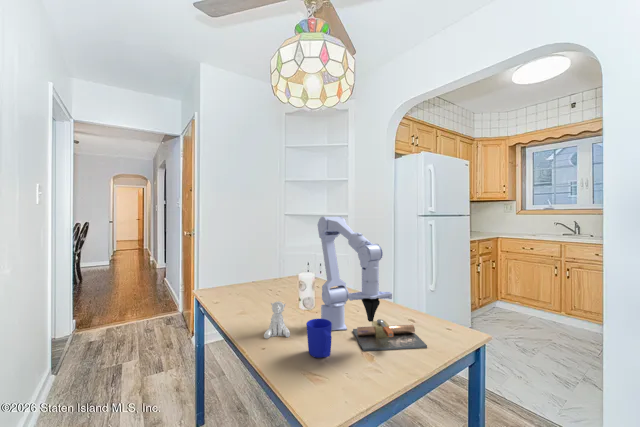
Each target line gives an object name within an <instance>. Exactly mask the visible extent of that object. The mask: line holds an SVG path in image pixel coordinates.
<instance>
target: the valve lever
mask: <svg viewBox="0 0 640 427" xmlns="http://www.w3.org/2000/svg"><path fill="white" fill-rule="evenodd" d="M376 321H377V324H379V325H381V327H382V328H383V331H384V333H385V334H386V335H387V336H388V337H393V332H392V330H391V329H390V328H389V327H387V326H386V325H385V324H384V321H385V320H384V319H377V320H376Z"/></svg>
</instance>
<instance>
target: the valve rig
mask: <svg viewBox="0 0 640 427" xmlns="http://www.w3.org/2000/svg"><path fill="white" fill-rule="evenodd" d="M384 324H385V325H386V326H387V327H389V328H390V329H391V330H392V332H393V337H388V336H387V335H386V334H385V333H384V331H383V328H382V327H381V325H379V324H377V320H375V321H374V320H373V322H371V326H357V327H356V328H353V329H352V332H353V334H354V336H355V338H356V340H357V342H358V344H359V346H360V348H361V349H362V352H375V351H390V350H406V349H407V350H408V349H409V350H410V349H411V350H412V349H427V348H428V345H427V343H425V342H424V341H423V340H422V338H420V336H419V335H417V334H416V333H415V332H416V330H415V329H416V328H415V325H414V324H399V325H398V324H397V325H396V324H395V325H389V324H388V323H387V322H386V320H384Z"/></svg>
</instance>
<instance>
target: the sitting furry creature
mask: <svg viewBox="0 0 640 427" xmlns="http://www.w3.org/2000/svg"><path fill="white" fill-rule="evenodd" d="M270 304H271V311H272V313H273V314H272V316H271V318H270V323H269V327H268V328H267V329H266V331H265V332H264V334H263V337H264V339H267V340H268V339H270V338H273V337H285V338H289V337H290V336H291V332H290V329H289V328H287V326H286V324H285V321H284V316H283V312H284V311H285V310H284V309H285V307H286V304H287V303H283V302H282V301H274V302H270Z"/></svg>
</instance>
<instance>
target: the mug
mask: <svg viewBox="0 0 640 427" xmlns="http://www.w3.org/2000/svg"><path fill="white" fill-rule="evenodd" d="M305 326H306V334H307V348H308V353H309V355H310V356H311V357H313V358H316V359H317V358H329V357H330V355H331V351H332V337H333V336H332V330H331V328H332V323H331V322H330V321H329V320H326V319H321V318H313V319H310V320H308V321H307V322H306V325H305Z"/></svg>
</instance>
